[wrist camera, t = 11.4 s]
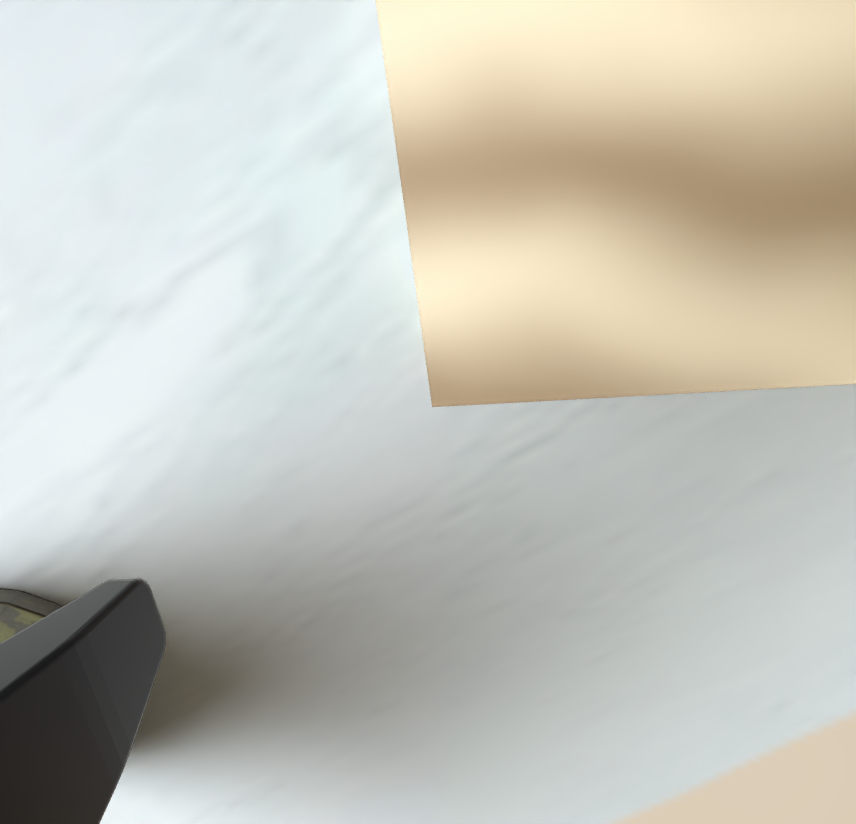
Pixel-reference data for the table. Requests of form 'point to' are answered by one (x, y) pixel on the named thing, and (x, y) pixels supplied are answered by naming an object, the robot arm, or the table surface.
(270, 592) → the table surface
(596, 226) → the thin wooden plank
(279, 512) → the table surface
